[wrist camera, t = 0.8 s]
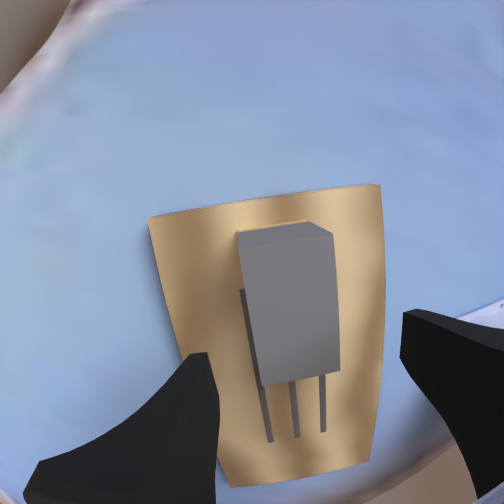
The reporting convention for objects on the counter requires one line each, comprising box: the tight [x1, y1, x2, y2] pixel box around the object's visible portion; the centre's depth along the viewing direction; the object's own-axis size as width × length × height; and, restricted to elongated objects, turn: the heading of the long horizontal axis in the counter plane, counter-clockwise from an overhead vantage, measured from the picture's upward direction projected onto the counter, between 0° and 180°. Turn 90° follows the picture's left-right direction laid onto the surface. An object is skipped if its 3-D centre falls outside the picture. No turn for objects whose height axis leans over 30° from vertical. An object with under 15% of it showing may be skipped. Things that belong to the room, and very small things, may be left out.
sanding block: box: [237, 220, 340, 387], centre depth 16 cm, size 4×7×5 cm, turn 9°
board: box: [148, 184, 386, 488], centre depth 21 cm, size 14×26×2 cm, turn 9°
